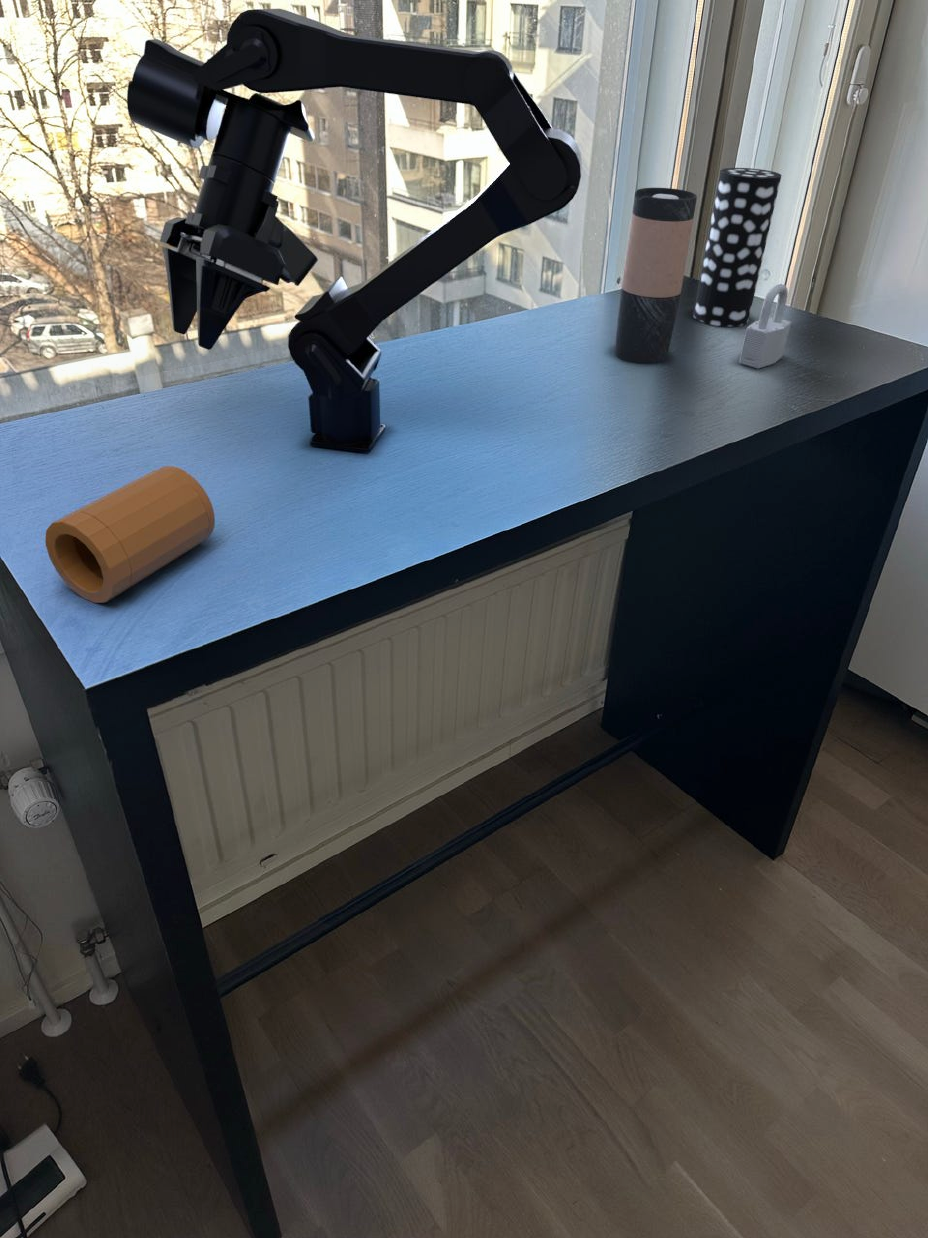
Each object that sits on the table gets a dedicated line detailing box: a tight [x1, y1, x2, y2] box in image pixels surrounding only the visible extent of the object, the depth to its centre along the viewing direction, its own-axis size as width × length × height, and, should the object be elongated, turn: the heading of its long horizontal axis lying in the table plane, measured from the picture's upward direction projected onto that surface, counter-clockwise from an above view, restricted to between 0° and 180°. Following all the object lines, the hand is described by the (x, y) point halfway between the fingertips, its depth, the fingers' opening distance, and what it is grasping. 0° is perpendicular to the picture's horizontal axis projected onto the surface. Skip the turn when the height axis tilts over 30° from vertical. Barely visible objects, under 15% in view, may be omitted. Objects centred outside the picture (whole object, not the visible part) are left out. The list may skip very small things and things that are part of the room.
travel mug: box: [614, 187, 698, 365], centre depth 111 cm, size 8×8×20 cm
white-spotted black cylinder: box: [692, 167, 783, 328], centre depth 126 cm, size 8×8×20 cm
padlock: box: [738, 283, 792, 370], centre depth 114 cm, size 7×4×10 cm, turn 137°
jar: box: [45, 465, 216, 604], centre depth 68 cm, size 7×7×11 cm
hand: (191, 340), depth 80 cm, fingers open, 9 cm apart
